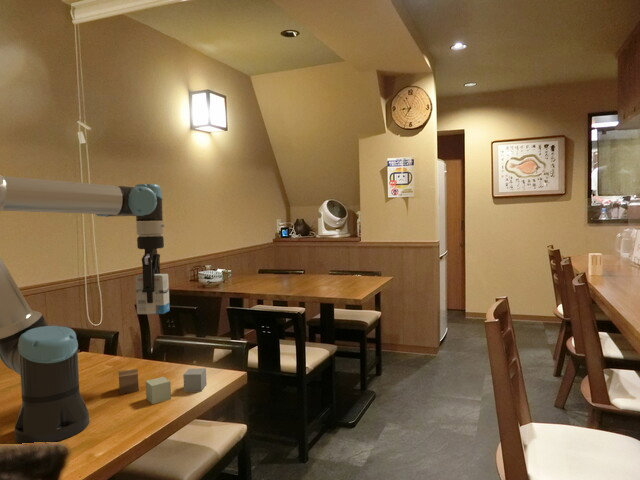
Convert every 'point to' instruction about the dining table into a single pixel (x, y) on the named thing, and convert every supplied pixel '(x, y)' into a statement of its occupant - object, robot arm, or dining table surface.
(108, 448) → the dining table surface
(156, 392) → the sage cube
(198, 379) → the slate cube
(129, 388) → the walnut cube
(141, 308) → the ink box
